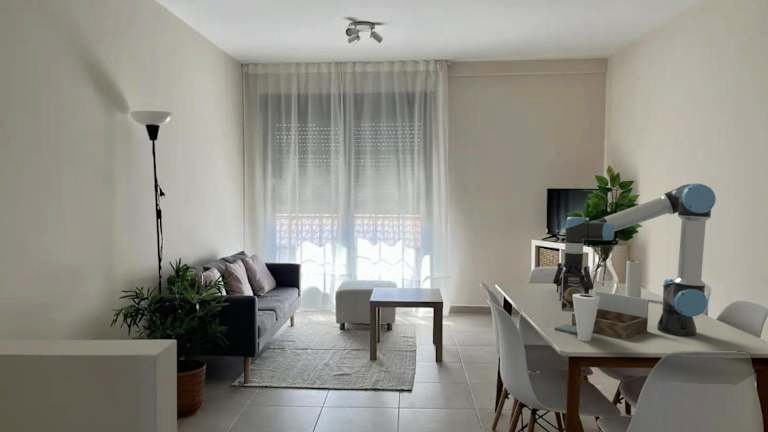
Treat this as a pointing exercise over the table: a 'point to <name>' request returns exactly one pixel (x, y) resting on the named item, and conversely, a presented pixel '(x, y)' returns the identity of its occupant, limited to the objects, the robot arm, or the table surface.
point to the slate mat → (567, 329)
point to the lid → (623, 304)
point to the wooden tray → (617, 324)
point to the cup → (585, 314)
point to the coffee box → (570, 290)
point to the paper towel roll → (633, 279)
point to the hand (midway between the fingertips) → (572, 302)
